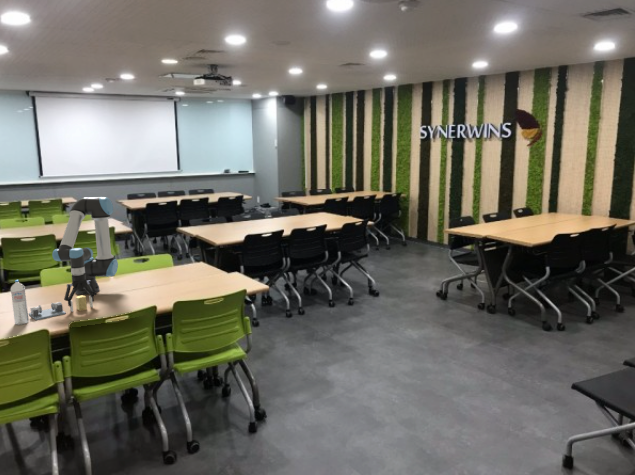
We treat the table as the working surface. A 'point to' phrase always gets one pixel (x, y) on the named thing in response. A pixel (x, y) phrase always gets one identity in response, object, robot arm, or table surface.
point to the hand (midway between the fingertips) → (81, 308)
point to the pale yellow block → (81, 302)
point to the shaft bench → (47, 311)
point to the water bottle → (19, 303)
